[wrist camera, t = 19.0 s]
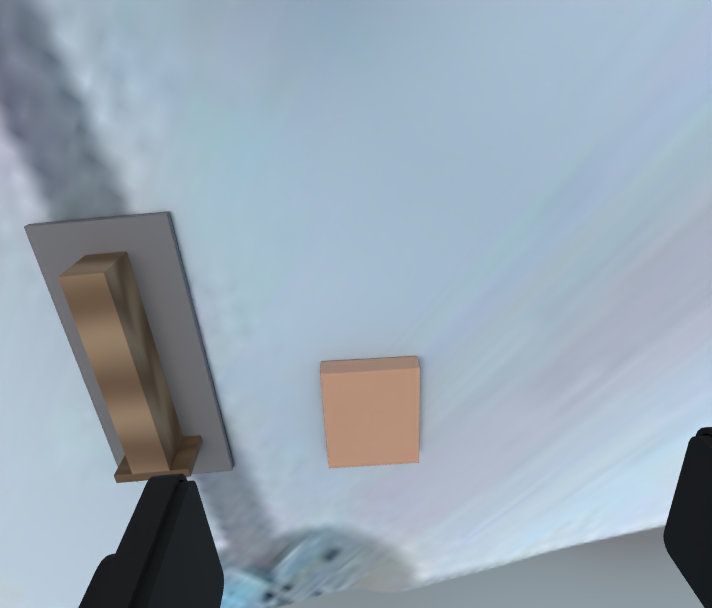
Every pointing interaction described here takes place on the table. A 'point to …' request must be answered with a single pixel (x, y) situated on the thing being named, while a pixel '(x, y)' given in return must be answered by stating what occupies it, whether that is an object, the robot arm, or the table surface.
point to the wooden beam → (127, 367)
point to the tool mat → (164, 313)
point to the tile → (371, 411)
